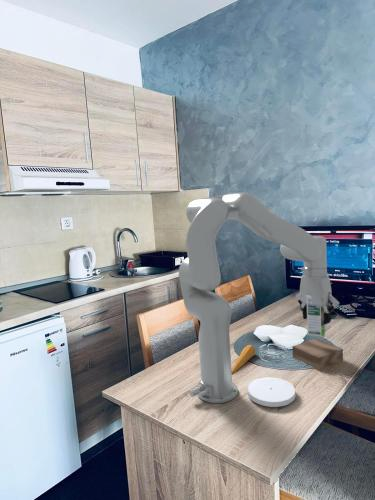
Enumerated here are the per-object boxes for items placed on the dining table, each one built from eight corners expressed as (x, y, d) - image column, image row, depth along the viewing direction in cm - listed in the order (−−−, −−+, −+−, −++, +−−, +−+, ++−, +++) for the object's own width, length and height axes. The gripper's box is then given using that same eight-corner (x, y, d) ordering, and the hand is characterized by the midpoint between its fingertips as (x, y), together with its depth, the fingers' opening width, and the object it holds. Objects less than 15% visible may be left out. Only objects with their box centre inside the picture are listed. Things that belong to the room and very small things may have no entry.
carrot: (249, 354, 137) (244, 344, 137) (259, 352, 135) (253, 342, 135) (226, 383, 121) (220, 371, 121) (236, 381, 118) (230, 369, 118)
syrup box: (307, 335, 125) (306, 295, 123) (309, 329, 130) (308, 291, 128) (324, 337, 122) (323, 296, 120) (326, 331, 127) (325, 292, 125)
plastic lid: (261, 380, 116) (261, 373, 116) (303, 392, 107) (302, 384, 107) (239, 400, 106) (238, 392, 105) (283, 416, 97) (283, 407, 96)
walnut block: (319, 372, 119) (319, 357, 118) (292, 359, 130) (292, 346, 129) (342, 362, 125) (342, 348, 124) (315, 350, 135) (315, 338, 135)
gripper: (287, 271, 127) (289, 318, 130) (333, 276, 114) (334, 329, 116) (299, 267, 132) (301, 313, 134) (345, 272, 118) (345, 323, 121)
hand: (316, 320), depth 125 cm, fingers closed on syrup box, 7 cm apart
